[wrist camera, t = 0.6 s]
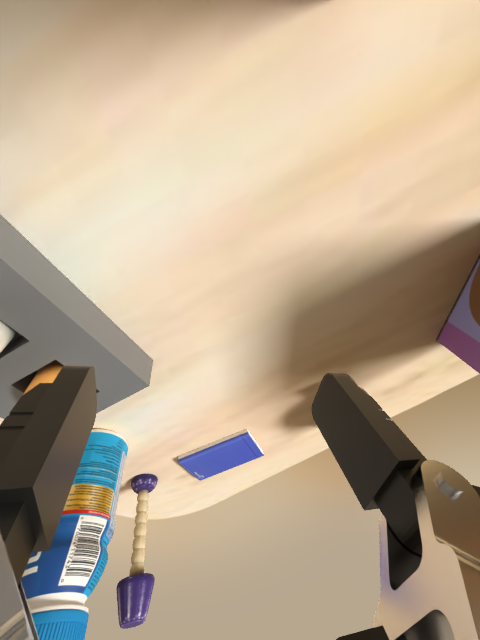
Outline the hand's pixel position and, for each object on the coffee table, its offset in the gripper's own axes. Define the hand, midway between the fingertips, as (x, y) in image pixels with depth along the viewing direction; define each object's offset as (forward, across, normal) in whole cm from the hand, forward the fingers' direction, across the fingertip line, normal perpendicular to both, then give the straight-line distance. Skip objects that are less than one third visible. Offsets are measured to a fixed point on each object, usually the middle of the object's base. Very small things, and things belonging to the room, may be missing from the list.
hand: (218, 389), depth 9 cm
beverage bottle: (+21, +10, +30) cm, 38 cm away
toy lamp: (+22, +3, +41) cm, 46 cm away
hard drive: (+22, -9, +34) cm, 41 cm away
